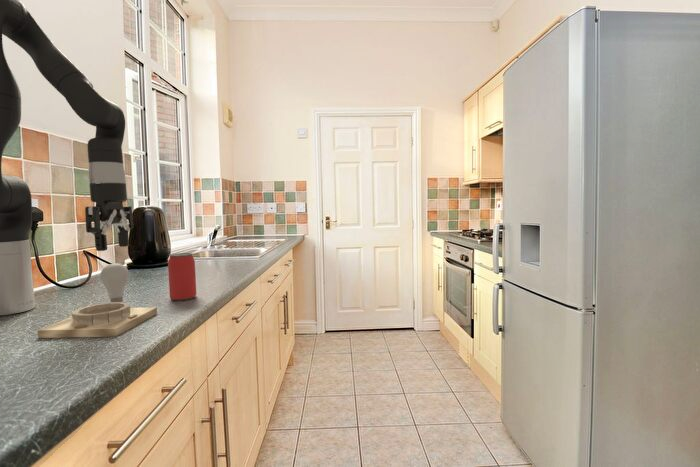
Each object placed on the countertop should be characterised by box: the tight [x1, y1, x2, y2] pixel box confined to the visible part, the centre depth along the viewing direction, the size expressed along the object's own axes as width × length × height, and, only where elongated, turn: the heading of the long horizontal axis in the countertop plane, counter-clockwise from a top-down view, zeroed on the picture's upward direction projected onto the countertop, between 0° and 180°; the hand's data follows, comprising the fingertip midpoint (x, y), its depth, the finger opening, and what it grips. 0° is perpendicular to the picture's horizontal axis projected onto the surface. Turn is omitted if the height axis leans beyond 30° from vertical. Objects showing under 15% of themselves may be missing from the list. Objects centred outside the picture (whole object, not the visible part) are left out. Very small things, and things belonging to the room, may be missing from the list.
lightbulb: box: [99, 262, 130, 302], centre depth 92 cm, size 6×6×11 cm
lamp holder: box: [37, 301, 158, 339], centre depth 78 cm, size 15×15×4 cm
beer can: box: [167, 252, 197, 302], centre depth 100 cm, size 7×7×12 cm
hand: (113, 248), depth 91 cm, fingers open, 8 cm apart
